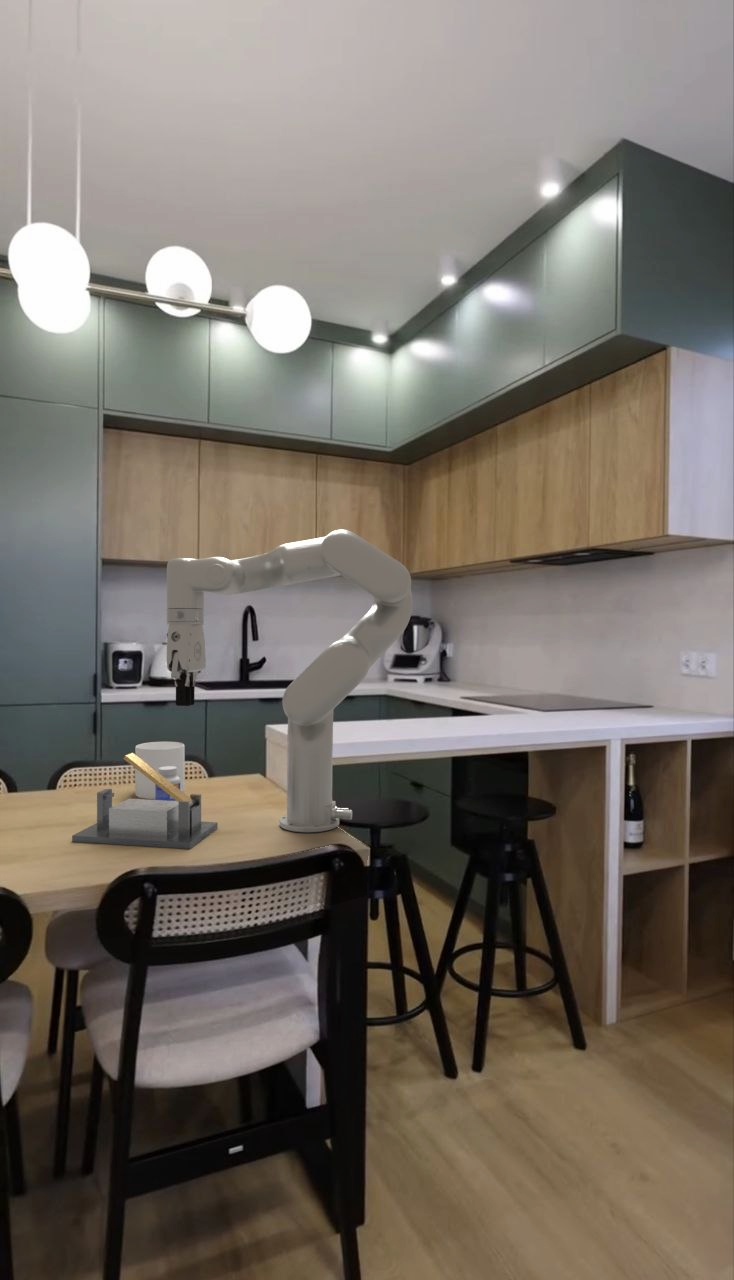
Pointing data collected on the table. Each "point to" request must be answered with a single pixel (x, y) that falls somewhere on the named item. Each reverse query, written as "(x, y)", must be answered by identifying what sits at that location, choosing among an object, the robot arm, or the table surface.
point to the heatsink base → (144, 839)
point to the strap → (158, 779)
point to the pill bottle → (170, 775)
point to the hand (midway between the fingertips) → (185, 704)
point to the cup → (158, 764)
